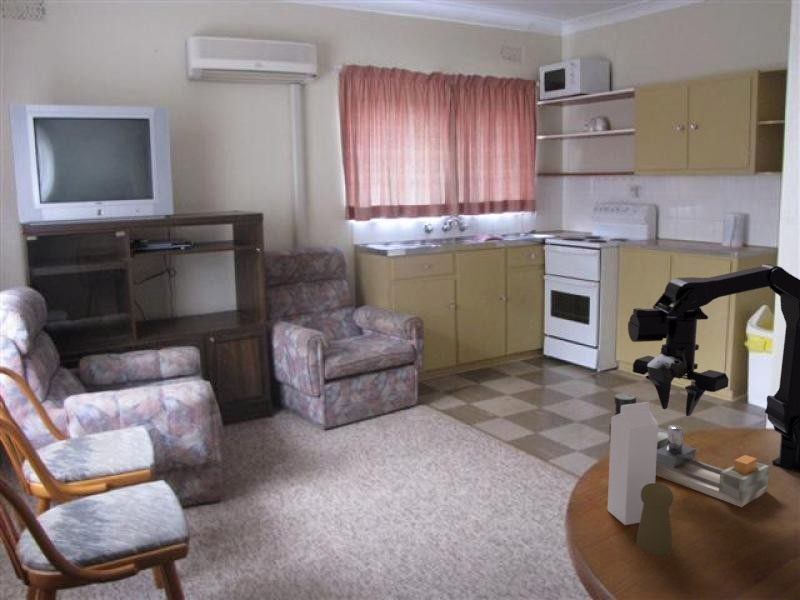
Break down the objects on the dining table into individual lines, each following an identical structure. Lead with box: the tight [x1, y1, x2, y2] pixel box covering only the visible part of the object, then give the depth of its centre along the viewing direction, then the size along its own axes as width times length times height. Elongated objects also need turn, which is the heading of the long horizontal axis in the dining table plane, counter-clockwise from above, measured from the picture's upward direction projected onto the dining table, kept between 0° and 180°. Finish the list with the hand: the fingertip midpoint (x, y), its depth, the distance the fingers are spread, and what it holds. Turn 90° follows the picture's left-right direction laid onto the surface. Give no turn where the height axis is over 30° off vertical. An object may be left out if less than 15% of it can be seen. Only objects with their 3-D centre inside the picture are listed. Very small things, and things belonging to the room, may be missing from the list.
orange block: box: [733, 454, 758, 475], centre depth 142 cm, size 4×2×3 cm, turn 128°
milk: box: [607, 401, 659, 526], centre depth 134 cm, size 6×6×22 cm
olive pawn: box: [635, 482, 674, 556], centre depth 125 cm, size 6×6×11 cm
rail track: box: [655, 431, 770, 508], centre depth 151 cm, size 10×24×6 cm, turn 38°
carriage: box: [656, 424, 697, 468], centre depth 154 cm, size 8×5×7 cm, turn 128°
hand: (676, 412), depth 153 cm, fingers open, 5 cm apart
